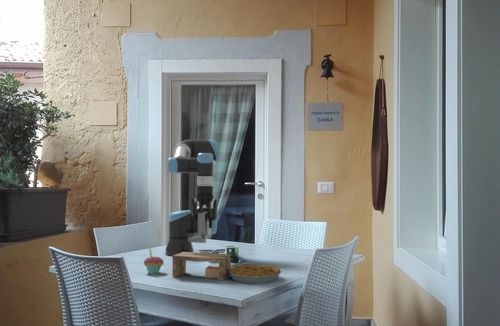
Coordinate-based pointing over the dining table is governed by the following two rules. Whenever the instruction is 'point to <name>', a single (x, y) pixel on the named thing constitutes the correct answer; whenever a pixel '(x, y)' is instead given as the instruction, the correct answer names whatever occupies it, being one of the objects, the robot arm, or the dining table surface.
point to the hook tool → (201, 229)
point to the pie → (254, 273)
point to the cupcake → (153, 264)
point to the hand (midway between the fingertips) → (204, 234)
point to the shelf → (181, 258)
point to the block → (212, 272)
